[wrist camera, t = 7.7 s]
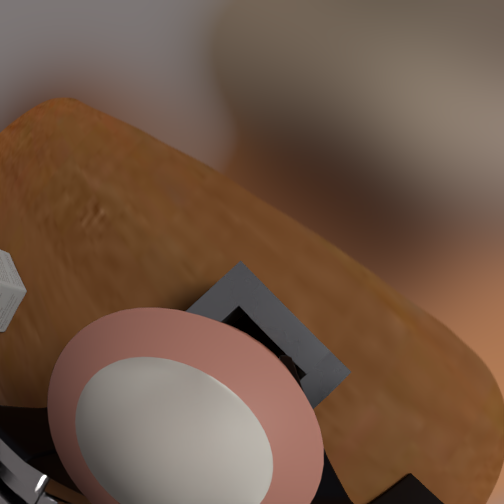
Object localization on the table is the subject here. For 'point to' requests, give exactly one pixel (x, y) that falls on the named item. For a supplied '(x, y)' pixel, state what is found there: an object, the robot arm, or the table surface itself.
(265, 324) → the block
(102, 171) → the table surface
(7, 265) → the skincare box
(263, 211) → the table surface
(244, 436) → the pin
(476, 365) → the table surface
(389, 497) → the phone stand
